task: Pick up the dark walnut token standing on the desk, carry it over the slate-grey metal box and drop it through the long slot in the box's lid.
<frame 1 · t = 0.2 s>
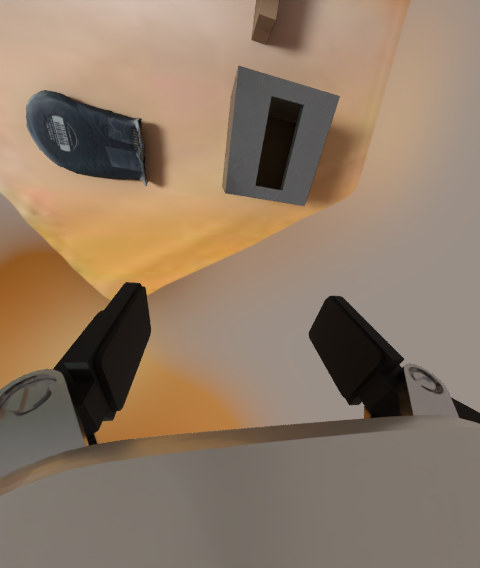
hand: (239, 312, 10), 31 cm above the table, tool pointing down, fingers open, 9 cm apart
slot box: (260, 153, 31), on the table
walnut token: (263, 6, 23), on the table
electronic device: (97, 143, 29), on the table
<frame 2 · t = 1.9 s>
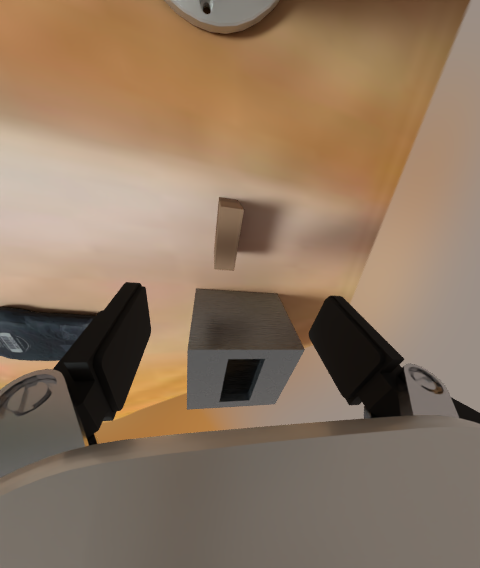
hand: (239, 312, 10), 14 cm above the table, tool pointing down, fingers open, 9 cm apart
slot box: (232, 321, 30), on the table
walnut token: (225, 226, 21), on the table
electronic device: (55, 327, 27), on the table
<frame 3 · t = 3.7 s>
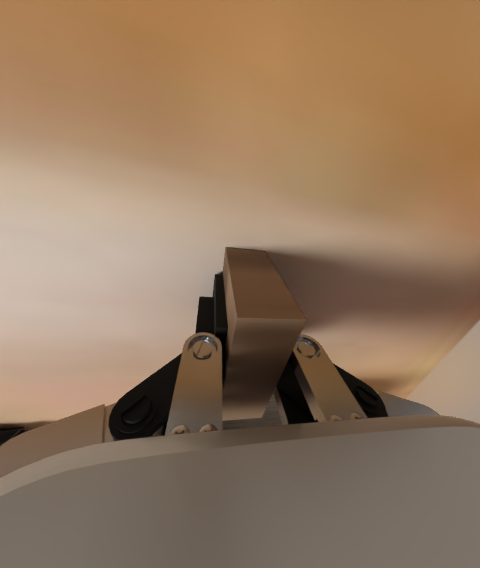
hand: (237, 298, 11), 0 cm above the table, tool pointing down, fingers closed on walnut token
slot box: (243, 414, 19), on the table
walnut token: (236, 297, 11), on the table, touching gripper
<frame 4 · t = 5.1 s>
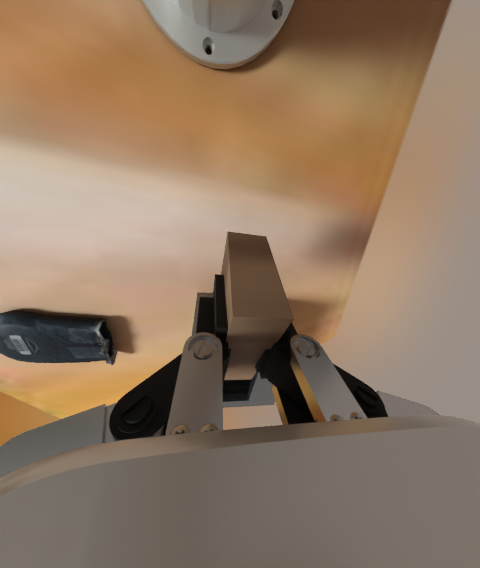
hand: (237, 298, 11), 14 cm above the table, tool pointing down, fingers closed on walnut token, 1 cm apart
slot box: (232, 324, 31), on the table
walnut token: (237, 276, 11), point 13 cm above the table, tilted 14°, touching gripper
electronic device: (62, 330, 28), on the table
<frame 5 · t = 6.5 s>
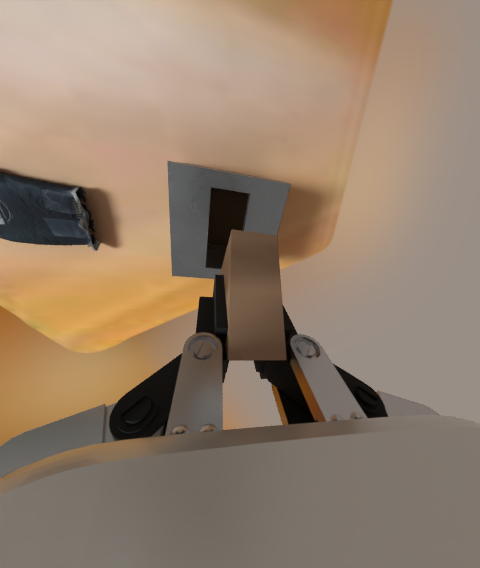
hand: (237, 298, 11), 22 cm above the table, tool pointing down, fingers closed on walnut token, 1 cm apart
slot box: (222, 214, 29), on the table
walnut token: (240, 263, 10), point 21 cm above the table, tilted 37°, touching gripper
electronic device: (39, 209, 26), on the table
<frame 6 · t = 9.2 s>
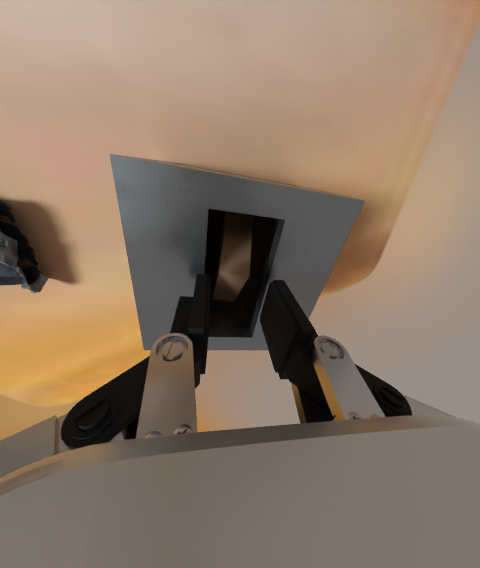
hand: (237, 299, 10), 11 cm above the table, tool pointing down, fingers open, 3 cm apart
slot box: (226, 237, 20), on the table
walnut token: (232, 238, 16), point 4 cm above the table, tilted 35°
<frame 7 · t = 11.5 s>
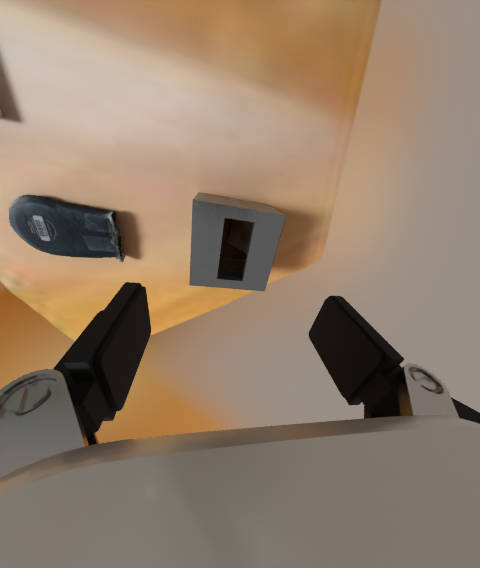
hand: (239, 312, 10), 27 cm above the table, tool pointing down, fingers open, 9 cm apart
slot box: (229, 233, 34), on the table
walnut token: (234, 226, 33), point 1 cm above the table, tilted 42°, touching slot box
electronic device: (76, 227, 31), on the table
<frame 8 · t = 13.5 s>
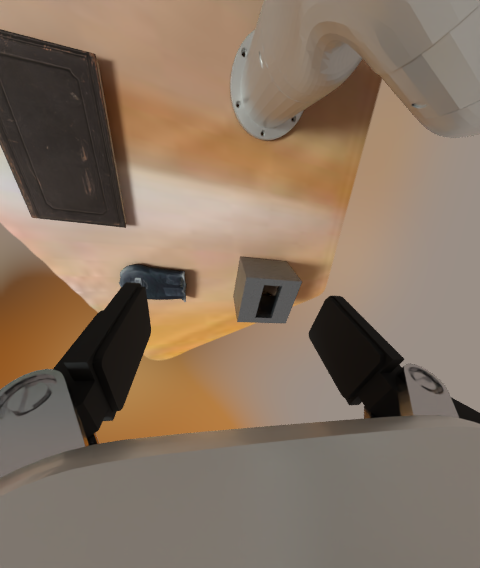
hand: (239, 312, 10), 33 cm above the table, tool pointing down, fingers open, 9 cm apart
slot box: (258, 279, 48), on the table
walnut token: (261, 276, 47), point 1 cm above the table, tilted 54°
hardcover book: (67, 149, 31), on the table
electronic device: (156, 279, 45), on the table
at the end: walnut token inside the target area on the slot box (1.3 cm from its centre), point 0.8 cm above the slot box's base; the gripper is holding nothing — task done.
